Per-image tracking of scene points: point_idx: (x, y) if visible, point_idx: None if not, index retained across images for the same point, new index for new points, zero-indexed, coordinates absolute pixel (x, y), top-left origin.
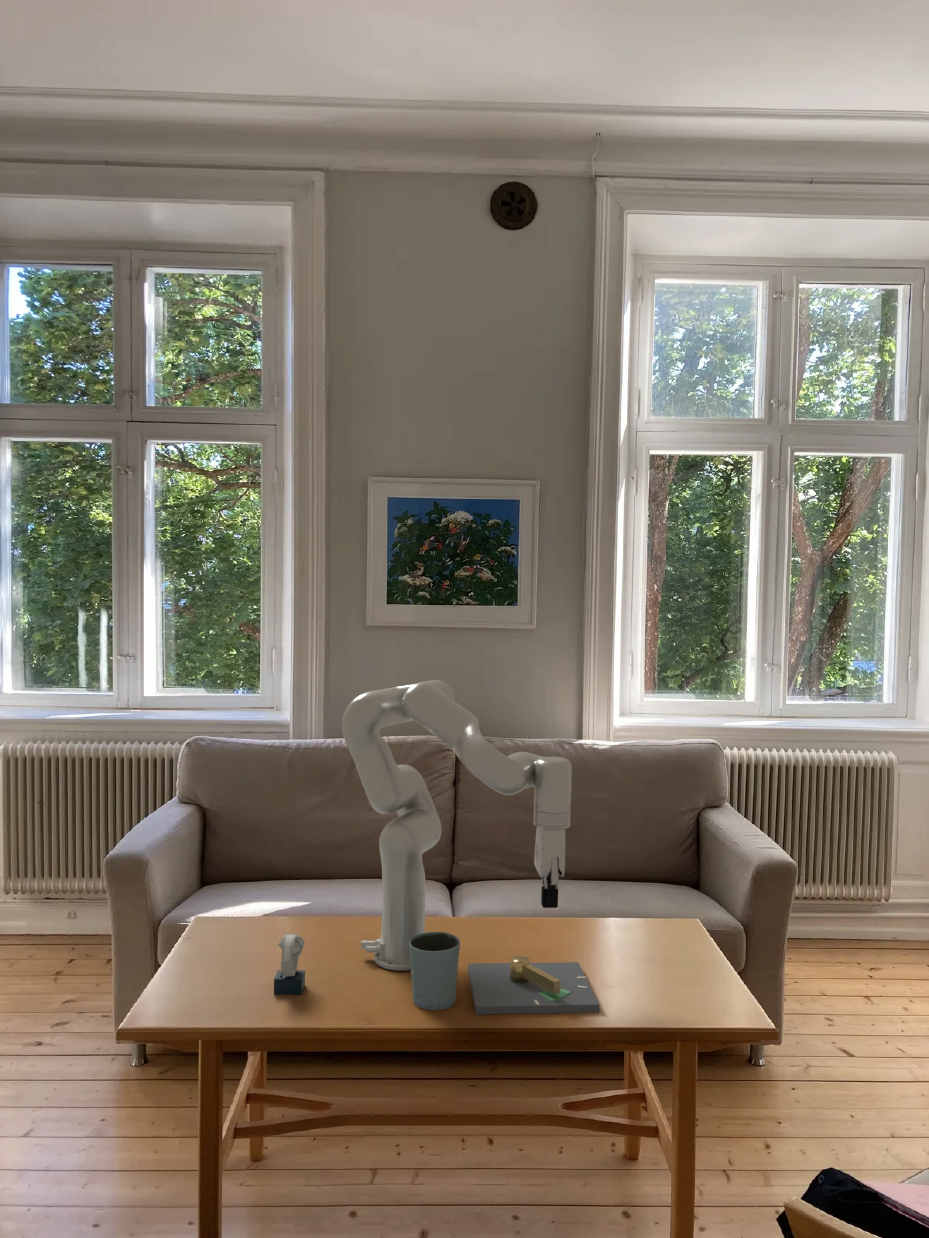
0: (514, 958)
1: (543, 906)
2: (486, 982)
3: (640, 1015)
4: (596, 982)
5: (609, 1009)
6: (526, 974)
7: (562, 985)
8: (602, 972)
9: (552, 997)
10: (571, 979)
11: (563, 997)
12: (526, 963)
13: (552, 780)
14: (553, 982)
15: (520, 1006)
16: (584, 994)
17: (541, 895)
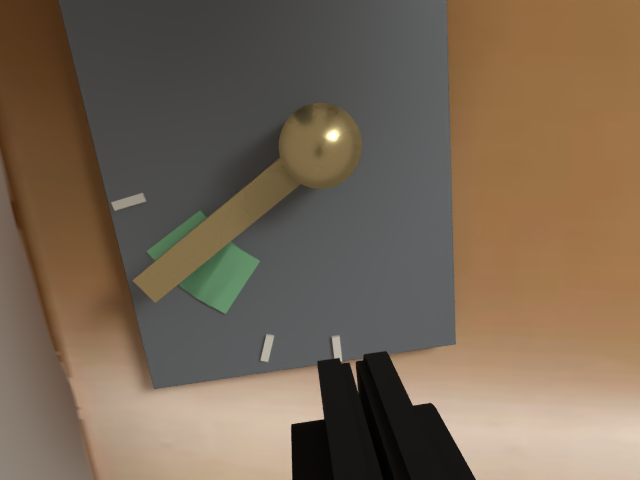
0: (333, 123)
1: (318, 369)
2: (272, 13)
3: (161, 472)
4: (355, 378)
5: (184, 402)
6: (261, 172)
7: (276, 289)
8: (423, 397)
9: None
10: (323, 318)
11: (186, 289)
12: (289, 175)
13: None
14: (138, 275)
15: (95, 144)
16: (218, 351)
17: (405, 401)
